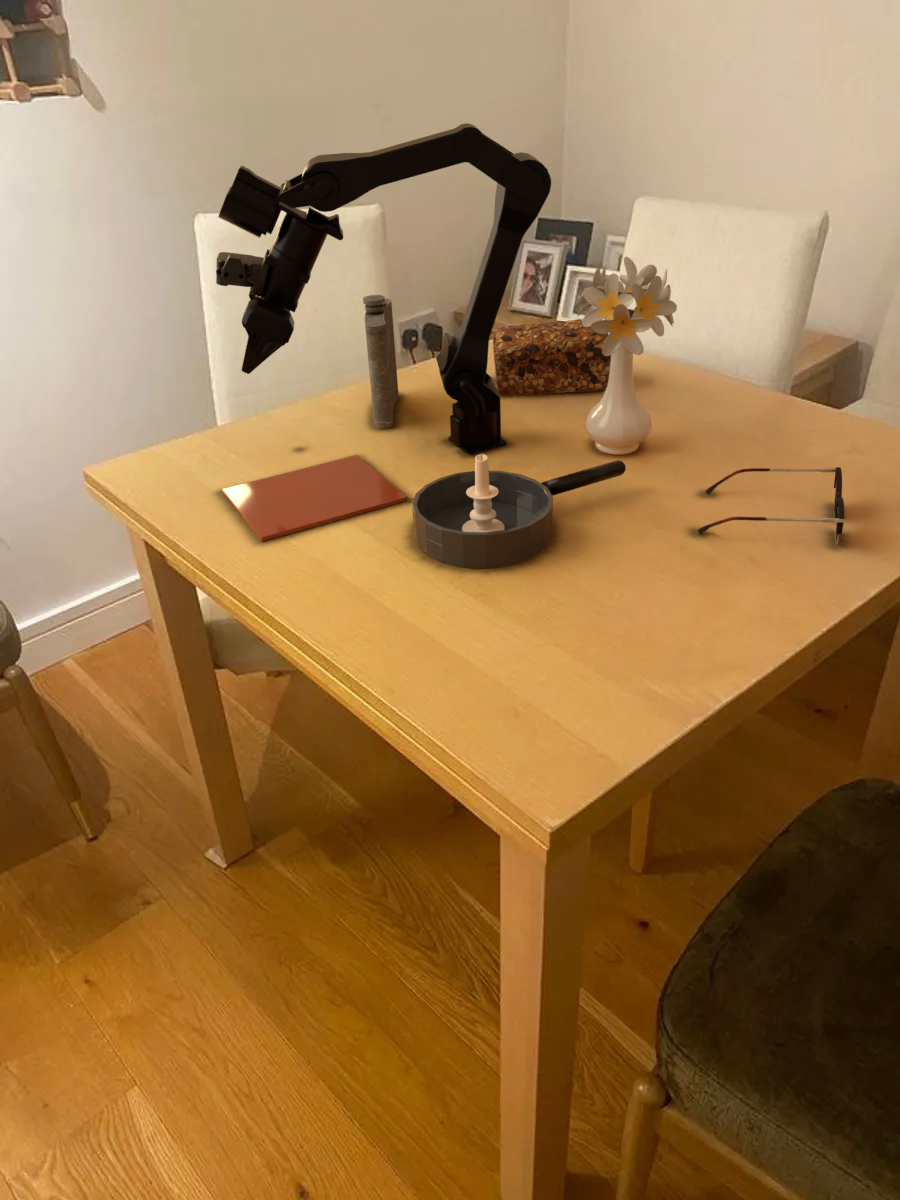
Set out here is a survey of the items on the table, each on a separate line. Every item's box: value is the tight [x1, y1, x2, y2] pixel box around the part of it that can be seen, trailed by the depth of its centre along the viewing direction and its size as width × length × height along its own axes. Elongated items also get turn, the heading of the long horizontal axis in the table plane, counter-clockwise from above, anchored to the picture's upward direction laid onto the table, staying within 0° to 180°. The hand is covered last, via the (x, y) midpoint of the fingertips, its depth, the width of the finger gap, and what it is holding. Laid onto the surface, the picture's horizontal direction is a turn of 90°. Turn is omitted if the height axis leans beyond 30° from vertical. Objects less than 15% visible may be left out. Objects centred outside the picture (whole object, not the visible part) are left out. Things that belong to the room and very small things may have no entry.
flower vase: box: [576, 256, 678, 455], centre depth 131 cm, size 13×18×25 cm
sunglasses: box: [697, 466, 845, 544], centre depth 118 cm, size 14×16×5 cm
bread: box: [492, 318, 611, 397], centre depth 158 cm, size 19×11×10 cm, turn 89°
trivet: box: [221, 454, 408, 542], centre depth 129 cm, size 20×16×1 cm
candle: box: [462, 452, 505, 532], centre depth 116 cm, size 5×5×10 cm
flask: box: [362, 294, 400, 430], centre depth 149 cm, size 4×14×18 cm, turn 179°
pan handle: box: [540, 459, 627, 497], centre depth 123 cm, size 13×2×2 cm, turn 119°
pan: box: [411, 470, 554, 569], centre depth 118 cm, size 17×17×4 cm
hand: (247, 360), depth 132 cm, fingers open, 9 cm apart
